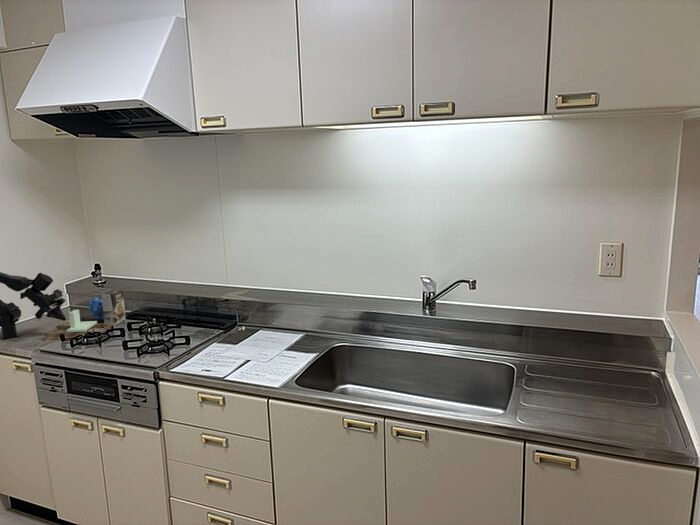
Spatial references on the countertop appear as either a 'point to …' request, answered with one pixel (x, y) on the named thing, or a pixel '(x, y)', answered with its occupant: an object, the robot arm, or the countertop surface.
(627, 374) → the countertop surface
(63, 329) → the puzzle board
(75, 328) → the mint green l-shaped block
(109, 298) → the coffee box
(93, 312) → the grapes
